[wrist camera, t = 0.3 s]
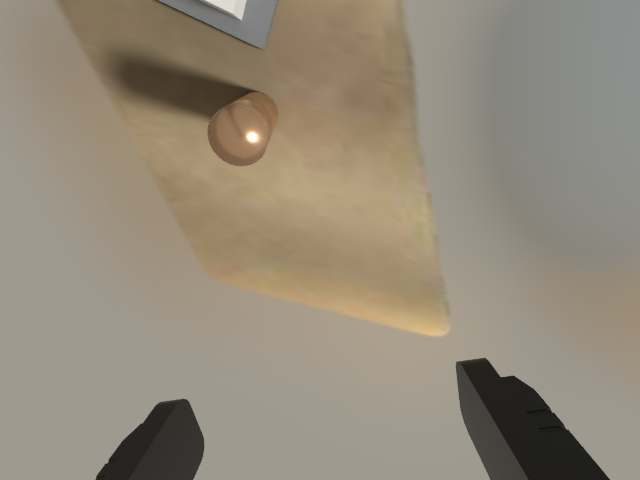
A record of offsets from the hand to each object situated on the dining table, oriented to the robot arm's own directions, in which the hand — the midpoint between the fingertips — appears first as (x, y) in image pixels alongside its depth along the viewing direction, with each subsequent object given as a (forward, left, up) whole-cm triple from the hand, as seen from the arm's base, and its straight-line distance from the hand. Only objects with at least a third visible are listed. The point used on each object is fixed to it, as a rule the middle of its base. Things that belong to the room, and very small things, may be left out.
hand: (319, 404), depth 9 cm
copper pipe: (-6, +2, -28) cm, 29 cm away
